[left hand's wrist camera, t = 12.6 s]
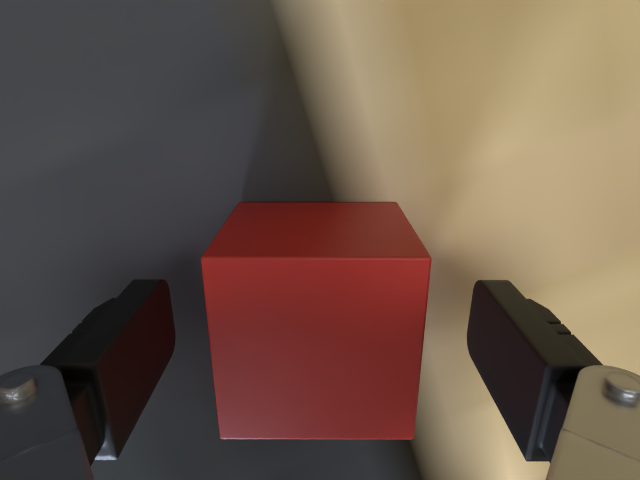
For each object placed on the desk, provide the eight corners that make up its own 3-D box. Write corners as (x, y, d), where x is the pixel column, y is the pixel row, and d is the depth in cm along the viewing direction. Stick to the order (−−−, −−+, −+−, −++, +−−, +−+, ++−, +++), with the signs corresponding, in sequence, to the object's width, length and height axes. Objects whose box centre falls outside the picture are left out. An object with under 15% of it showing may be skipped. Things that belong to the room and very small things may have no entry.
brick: (397, 201, 13) (432, 257, 9) (388, 340, 15) (414, 440, 11) (238, 202, 13) (199, 257, 9) (247, 340, 15) (219, 440, 11)
